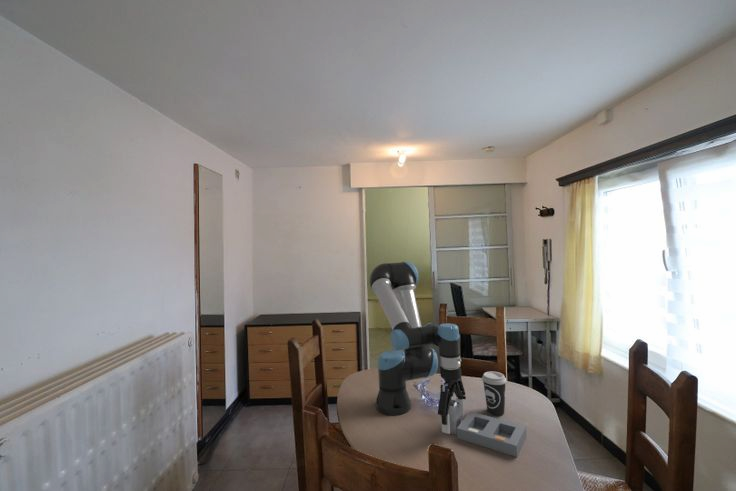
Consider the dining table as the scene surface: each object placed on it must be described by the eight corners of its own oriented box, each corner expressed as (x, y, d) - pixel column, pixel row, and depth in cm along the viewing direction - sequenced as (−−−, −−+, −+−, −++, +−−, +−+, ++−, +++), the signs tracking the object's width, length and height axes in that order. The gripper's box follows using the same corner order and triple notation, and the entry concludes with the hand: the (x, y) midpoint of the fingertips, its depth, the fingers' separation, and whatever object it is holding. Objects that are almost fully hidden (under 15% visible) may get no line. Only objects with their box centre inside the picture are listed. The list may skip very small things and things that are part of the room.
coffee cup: (510, 418, 130) (508, 380, 130) (485, 417, 132) (483, 379, 132) (505, 406, 139) (503, 371, 139) (481, 405, 141) (480, 370, 141)
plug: (446, 431, 123) (444, 402, 123) (450, 426, 126) (449, 398, 126) (456, 434, 120) (455, 404, 120) (460, 429, 123) (459, 400, 124)
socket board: (457, 438, 118) (456, 427, 118) (471, 420, 129) (470, 411, 129) (517, 457, 106) (516, 445, 106) (526, 436, 117) (526, 425, 117)
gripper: (446, 379, 111) (449, 443, 111) (472, 358, 131) (474, 412, 131) (425, 375, 116) (429, 437, 115) (453, 355, 136) (456, 407, 135)
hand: (453, 424), depth 123 cm, fingers open, 13 cm apart
